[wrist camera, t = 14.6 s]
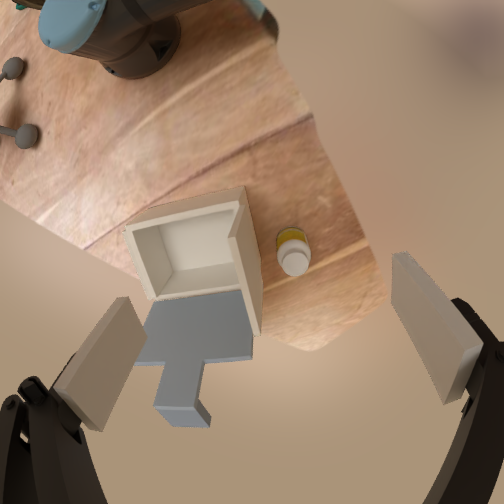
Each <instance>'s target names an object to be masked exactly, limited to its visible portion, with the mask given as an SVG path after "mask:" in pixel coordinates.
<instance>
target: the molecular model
mask: <svg viewBox="0 0 504 504" xmlns="http://www.w3.org/2000/svg"><path fill="white" fill-rule="evenodd" d="M22 70H23V61H22V59H21V58H19V57H13V58H10V59H9V60H7V61H6V63H5V64H4V66H3V69H2V74H1V75H0V82H1V81H2V80H3V79H4V78H5V79H7V80H12V79H15V78H16V77H18V76H19V75H20V74H21V72H22ZM0 133H1V134H5V135H9V136H12V137H15V143H16V145H17V146H18V147H19V148H21V149H28V148H30V147H32V146H33V145H34V143H35V142H36V140H37V129H36V128H35V126H33V125H32V124H24V125H22V126H21V127H20V128H19V129H18V130H14V129H11V128H7V127H4V126H0Z"/></svg>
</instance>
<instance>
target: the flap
mask: <svg viewBox="0 0 504 504" xmlns="http://www.w3.org/2000/svg"><path fill="white" fill-rule="evenodd" d="M143 328H144V331H145V333H146V334H147V336H148V338H147V340H146V342H145V344H144V346H143V348H142V350H141V352H140V354H139V356H138V358H137V360H136V362H135V364H134V366H153V365H165V366H164V370H163V373H162V376H161V380H160V383H159V387H158V390H157V394H156V397H155V401H154V404H153V406H154V407H155V408H156V410H157V411H159V413H160V414H161V415H162V416H163V417H164V418H165V419H166V420H167V421H168V422H169V423H170V424H171V425H172V426H175V427H176V426H177V427H207V428H208V427H210V421H211V416H210V414H209V413H208V411H207V410H206V409H205V407H204V406H203V405H202V403H201V402H200V400H199V399H198V398H199V392H200V386H201V381H202V375H203V370H204V365H205V364H206V363H220V362H233V361H242V360H252V355H253V331H252V328H251V324H250V320H249V317H248V313H247V310H246V306H245V302H244V299H243V295H242V291H241V290H237V291H230V292H223V293H216V294H209V295H202V296H195V297H187V298H179V299H172V300H164V301H156V302H154V303H153V305H152V308H151V310H150V312H149V315H148V317H147V319H146V321H145V323H144V326H143Z"/></svg>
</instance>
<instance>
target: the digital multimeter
mask: <svg viewBox="0 0 504 504" xmlns="http://www.w3.org/2000/svg"><path fill="white" fill-rule="evenodd" d="M24 8H26V7H25V6H22V5H19V4H17V5H16V9H18V10H22V9H24Z"/></svg>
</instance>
